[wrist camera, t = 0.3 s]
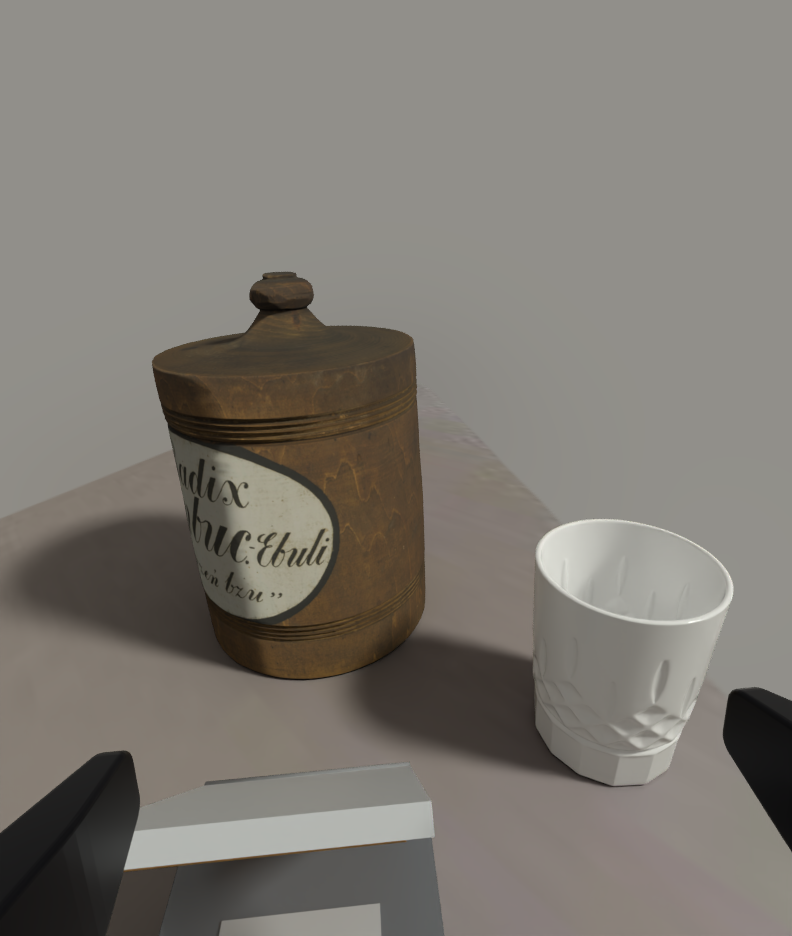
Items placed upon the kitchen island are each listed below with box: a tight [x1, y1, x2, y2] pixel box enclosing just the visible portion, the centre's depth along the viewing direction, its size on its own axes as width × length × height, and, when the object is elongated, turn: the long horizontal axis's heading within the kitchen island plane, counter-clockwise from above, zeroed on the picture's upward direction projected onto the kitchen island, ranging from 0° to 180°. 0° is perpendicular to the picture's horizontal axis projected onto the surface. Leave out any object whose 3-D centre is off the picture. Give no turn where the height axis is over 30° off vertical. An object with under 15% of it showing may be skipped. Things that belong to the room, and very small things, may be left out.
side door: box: [123, 762, 435, 872], centre depth 15 cm, size 10×8×1 cm
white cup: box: [533, 519, 733, 786], centre depth 25 cm, size 8×8×10 cm
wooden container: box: [152, 272, 425, 679], centre depth 32 cm, size 15×15×22 cm
